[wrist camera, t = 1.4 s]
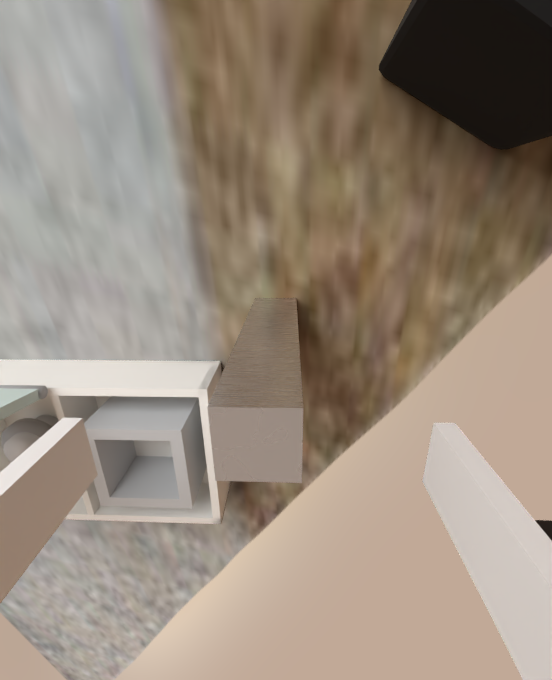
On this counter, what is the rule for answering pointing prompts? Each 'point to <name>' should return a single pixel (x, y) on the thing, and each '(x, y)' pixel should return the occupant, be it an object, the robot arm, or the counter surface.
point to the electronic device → (479, 65)
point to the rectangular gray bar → (260, 399)
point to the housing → (128, 434)
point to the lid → (19, 397)
